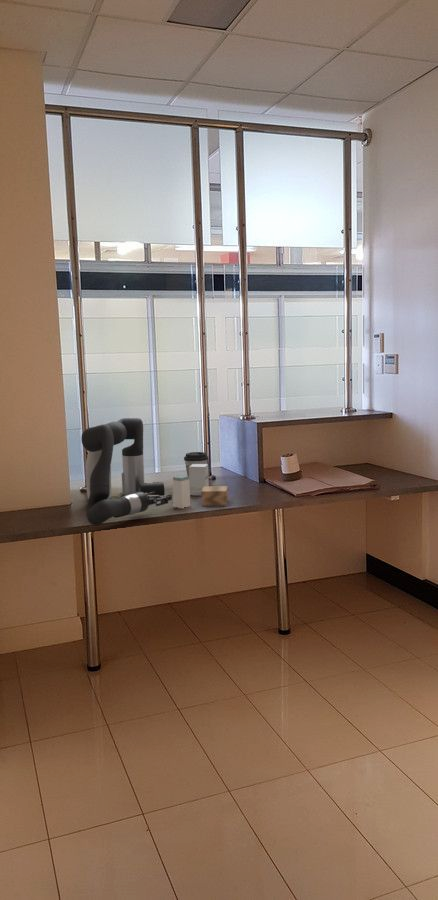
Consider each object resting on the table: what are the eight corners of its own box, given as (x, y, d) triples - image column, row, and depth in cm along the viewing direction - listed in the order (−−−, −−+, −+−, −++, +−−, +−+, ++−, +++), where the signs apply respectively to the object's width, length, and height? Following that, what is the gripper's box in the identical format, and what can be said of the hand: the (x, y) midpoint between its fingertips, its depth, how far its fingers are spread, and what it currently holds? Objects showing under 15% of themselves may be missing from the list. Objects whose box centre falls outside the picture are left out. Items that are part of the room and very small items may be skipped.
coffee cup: (213, 486, 322) (212, 454, 320) (189, 489, 318) (188, 456, 316) (204, 482, 332) (203, 450, 330) (181, 484, 328) (180, 452, 326)
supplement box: (205, 495, 304) (204, 466, 302) (189, 495, 305) (188, 466, 303) (209, 492, 311) (208, 463, 309) (193, 491, 312) (192, 463, 310)
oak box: (201, 505, 286) (201, 491, 285) (204, 500, 296) (203, 486, 295) (226, 505, 285) (226, 491, 284) (228, 500, 295) (227, 486, 294)
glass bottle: (84, 507, 289) (80, 438, 284) (92, 501, 299) (88, 435, 294) (108, 507, 287) (104, 438, 283) (115, 501, 297) (111, 435, 293)
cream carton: (182, 508, 282) (181, 478, 280) (173, 506, 284) (172, 477, 283) (190, 506, 285) (189, 476, 283) (181, 504, 288) (180, 475, 286)
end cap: (141, 501, 297) (140, 485, 296) (138, 497, 304) (138, 482, 303) (165, 499, 300) (164, 483, 299) (161, 495, 307) (161, 480, 306)
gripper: (146, 495, 258) (176, 488, 271) (119, 491, 267) (149, 484, 279) (147, 516, 259) (177, 507, 272) (120, 511, 268) (150, 502, 280)
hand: (162, 495), depth 275 cm, fingers open, 8 cm apart
